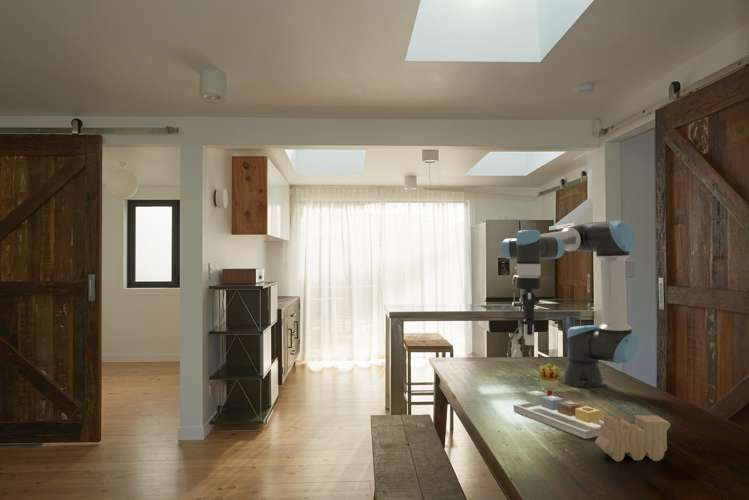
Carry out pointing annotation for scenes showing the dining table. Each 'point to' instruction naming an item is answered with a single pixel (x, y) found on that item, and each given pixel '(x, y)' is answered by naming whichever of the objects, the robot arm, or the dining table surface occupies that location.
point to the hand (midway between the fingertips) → (528, 341)
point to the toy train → (634, 437)
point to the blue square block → (551, 402)
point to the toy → (549, 378)
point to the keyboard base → (560, 420)
